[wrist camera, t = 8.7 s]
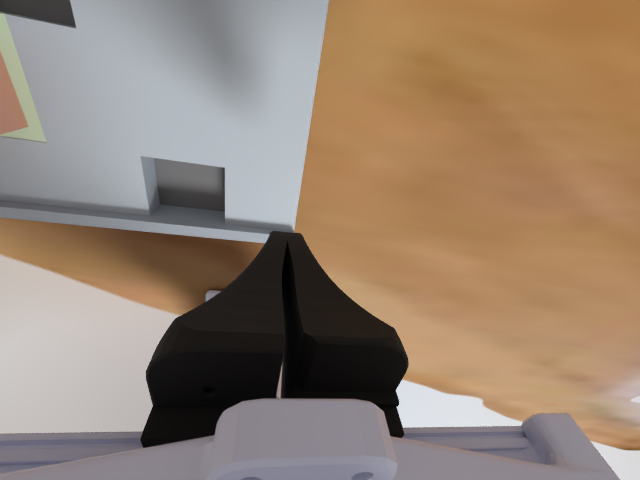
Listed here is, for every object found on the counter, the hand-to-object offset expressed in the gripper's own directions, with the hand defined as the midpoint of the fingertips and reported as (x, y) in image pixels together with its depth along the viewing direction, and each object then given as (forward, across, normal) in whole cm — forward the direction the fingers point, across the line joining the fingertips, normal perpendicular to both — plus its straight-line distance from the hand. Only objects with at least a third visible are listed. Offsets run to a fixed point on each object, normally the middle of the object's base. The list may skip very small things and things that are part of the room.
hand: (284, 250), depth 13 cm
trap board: (+10, +10, -4) cm, 15 cm away
